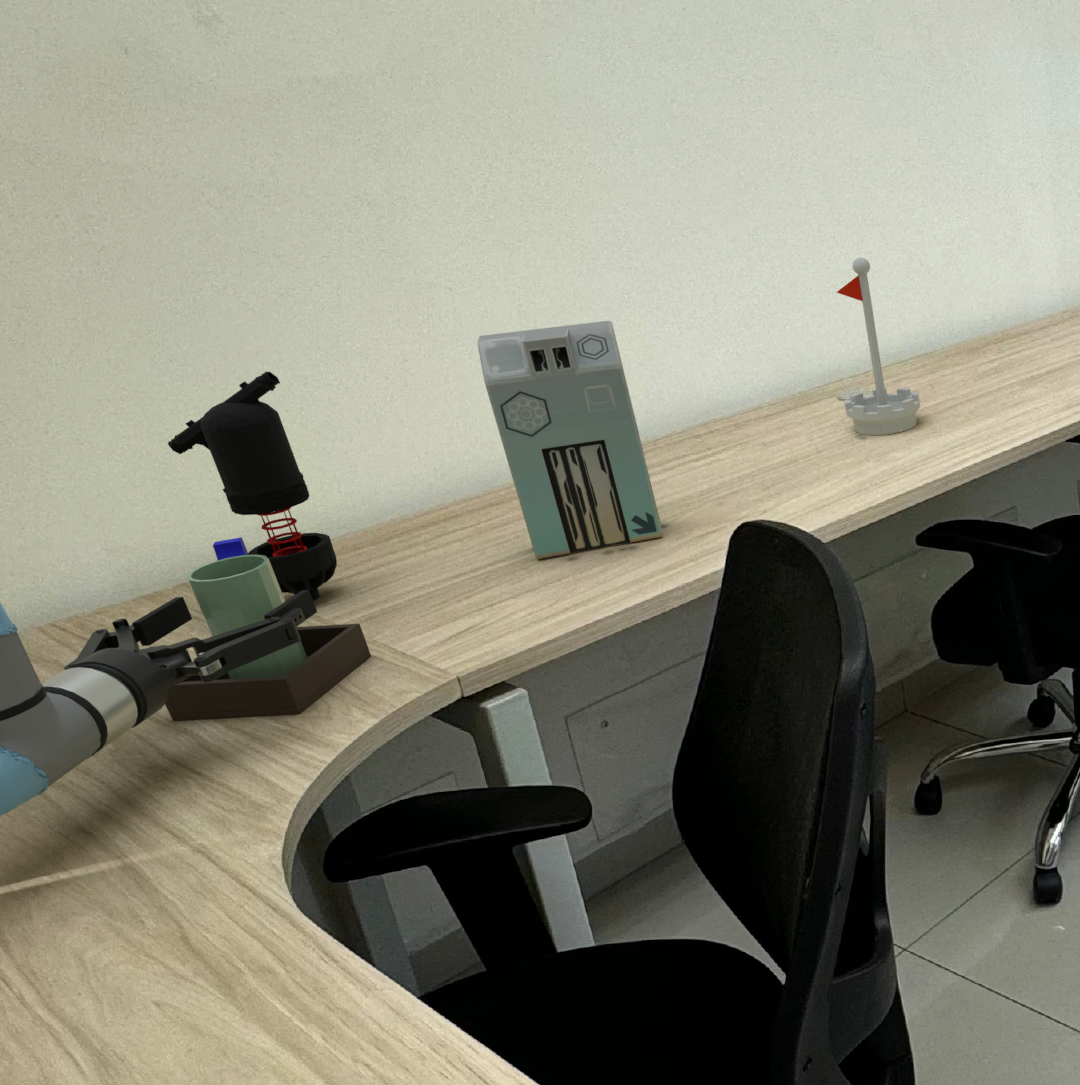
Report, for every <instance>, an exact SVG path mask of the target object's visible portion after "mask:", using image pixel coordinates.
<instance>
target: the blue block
mask: <svg viewBox="0 0 1080 1085" xmlns="http://www.w3.org/2000/svg"><path fill="white" fill-rule="evenodd" d="M212 547H213V550H214V553H215V556H216V559H217V560H216V561H218V560H221V559H225V558H230V557H236V556H242V555H248V553H249V551H248V549H247V546H246V544H245V542H244V539H243V537H242V536H240V537H236V538H235V537H234V538H229V539H223V540H219V541H214V543H213V544H212Z"/></svg>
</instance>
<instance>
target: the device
mask: <svg viewBox="0 0 1080 1085" xmlns="http://www.w3.org/2000/svg"><path fill="white" fill-rule="evenodd" d="M477 350H478V356H479V361H480V366H481V370H482V376H483V382H484V384H485V388H486V392H487V395H488V398H489V402H490V406H491V409H492V412H493V416H494V420H495V423H496V426H497V429H498V433H499V436H500V440H501V444H502V447H503V450H504V453H505V458H506V461H507V464H508V467H509V468H508V469H509V471H510V474H511V478H512V481H513V485H514V488H515V491H516V495H517V499H518V502H519V505H520V509H521V513H522V515H523V516H522V517H523V519H524V522H525V525H526V526H525V527H526V529H527V533H528V536H529V539H530V540H529V541H530V543H531V546H532V550H533V553H534V556H535V559H536V560H542V559H549V558H554V557H559V556H564V555H570V554H576V553H581V552H582V553H583V552H587V551H592V550H593V551H594V550H597V549H603V548H608V547H614V546H620V545H624V544H631V543H636V542H641V541H642V542H643V541H647V540H648V541H649V540H652V539H658V538H662V537H663V535H664V534H663V529H662V524H661V523H662V522H661V518H660V515H659V511H658V506H657V502H656V499H655V494H654V489H653V486H652V482H651V478H650V474H649V470H648V465H647V462H646V461H647V460H646V456H645V453H644V449H643V445H642V444H643V443H642V441H641V436H640V432H639V428H638V424H637V421H636V415H635V412H634V408H633V404H632V399H631V396H630V391H629V387H628V384H627V378H626V375H625V374H626V373H625V370H624V366H623V362H622V358H621V354H620V350H619V345H618V341H617V336H616V333H615V329H614V324H613V322H612V321H611V320H602V321H593V322H586V323H585V322H583V323H577V324H568V325H567V324H566V325H560V326H559V325H558V326H550V327H543V328H542V327H541V328H536V329H525V330H519V331H518V330H517V331H510V332H509V331H508V332H502V333H501V332H500V333H493V334H492V333H491V334H484V335H479V337H478V338H477Z"/></svg>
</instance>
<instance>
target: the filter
mask: <svg viewBox="0 0 1080 1085" xmlns="http://www.w3.org/2000/svg"><path fill="white" fill-rule="evenodd" d="M278 385H281V381H280V380H279V378H278V376H277V375H275V374H274V373H272V372H271V371H265V372H263V373H261V375H258V376H256V377H255V378H254V379H253V380H251V381H250V382H249V383H248V382H247V381H242V382H241V383H240V384H239V385H238V387H239V388H240V389H239V390H238V391H237V392H235V393H234V394H232V395H231V396H229V397H228V398H227V399H225V400H224V401H222V402H219V403H218V404H215V405H214V406H212V407H211V408H210V409H209V410H207V412H205V413H204V414H203V416H202V417H201V418H199V419H197V420H196V421H194V420H193V419H189V421H187V422H186V423H185V425H186V427H187V428H185V429H184V430H182V431H180V432H179V433H178V434H175V436H174V437H173V438H171V440H168V442H167V445H168V446H169V448H170V449H171V450H172V452H175V453H177V454H178V455H182V454H183V453H186V452H188V451H189V450H192V449H194V446H196V445H200V446H203V447H204V448H206V449H207V450H209V452H210V454H211V457H212V460H213V462H214V464H215V467H216V470H217V472H218V475H219V477H220V480H221V482H222V485H223V488H222V491H223V493H224V494H225V497H226V501H227V502H228V504H229V508H230V510H231V512H232V513H234V514H236V515H241V516H252V515H253V516H254V515H257V516H260V518H261V520H262V522H263V524H261V530H264V531H266V533H267V536H268V539H266V541H265V542H263V543H261V544H259V545H257V546H255V547H254V548H252V549H251V550H249V551H248V555H263V556H266V557H267V558H268V559H269V561H270V563H271V566H272V569H273V571H274V574H275V576H276V579H277V581H278V584H279V586H280V589H281V592H282V594H285V593H286V594H293V595H296V594H297V593H299V592H300V591H302V590H309V591H310V594H311V597H312V599H313V601H314V600H317V599H318V598H320V596H321V595H320V592H319V588H320V587H321V586H323V584H326V583H327V582H328V581H330V580H331V579H332V577H333V576H334V575H335V571H336V568H337V566H338V562H337V556H336V555H337V554H336V553H335V549H334V547H333V544H332V540H331V537H330V535H328V534H326V533H319V532H305V533H303V532H301V531H298V529H297V526H296V524H297V522H298V520H297V518H295V517H292V513H291V511H290V510H291V509H292V508H293V507H295V506H298V505H300V504H303V503H305V502H306V501H308V500H309V497H310V491H309V489H308V485H307V484H306V481H305V479H304V474H303V473H302V472H301V471H300V468H299V466H298V462H297V461H296V458H295V455H294V452H293V449H292V446H291V443H290V440H289V438H288V436H287V433H286V430H285V426H284V425H283V421H282V419H281V416H280V414H279V412H278V410H276V409H274V408H273V407H272V406H271V405H269V404H268V403H266V402H263V401H260V400H259V399H260V398H262V397H263V396H265V395H266V394H267V393H269V392H270V391H271V392H273V391H274V390H275V389H276V388H277V387H276V386H278ZM287 511H288V514H289V517H287V514H286V512H287ZM277 514H284V517H283V518H277V519H274V520H271V521H270V519H269V518H268V516H273V515H277ZM264 516H265V517H266V519H267V522H266V521H265V519H264ZM280 522H287V523H286V524H282V525H278V526H277V525H276V526H272V524H276V523H280ZM291 526H293V529H294V531H293V530H292V527H291ZM285 528H288V529H289V530H290V532H283V533H280V534H276V535H275V532H274V530H280V529H285ZM270 531H271V533H272V535H273V536H271V534H270Z"/></svg>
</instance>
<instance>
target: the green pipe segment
mask: <svg viewBox="0 0 1080 1085" xmlns="http://www.w3.org/2000/svg"><path fill="white" fill-rule="evenodd" d="M188 572H189V573H187V575H186V576H185V578H186V580H187V583H188V585H189V587H190V590H191V592H192V595H193V597H194V599H195V601H196V604H197V606H198V609H199V611H200V613H201V616H202V618H203V621H204V623H205V625H206V628H207V629H208V632H209V635H210V637H213V636H216V635H219V634H222V633H225V632H228V631H231V630H234V629H238V628H241V627H244V626H247V625H250V624H253V623H256V622H259V621H262V620H265V618H264V615H266V614H267V613H269V612H270V611H272V610H273V609H275V608H276V607H278V606H279V605H281V604H282V603H284V602H285V601H286V599H285V597H284V593H282V592H281V589H280V586H279V584H278V581H277V579H276V576H275V574H274V571H273V569H272V566H271V563H270V561H269V559H268V558H267V557H266V556H263V555H242V556H236V557H230V558H225V559H221V560H214V561H211V562H208V563H206V564H203V565H199V567H196V568H194V569H192V570H191V571H188ZM305 659H307V656H306V653H305V651H304V648H303V645H302V643H301V641H299V642H297V643H295V644H292V645H290V646H288V647H285V648H283V649H281V650H278V651H276V652H274V653H271V654H269V655H266V656H264V657H262V658H259V659H257V660H255V661H252V662H250V663H248V664H245V665H243V666H241V667H238V668H236V669H234V670H231V671H229V672H227V675H228V677H229V679H243V678H261V677H280V676H284V675H285V674H287V673H288V672H289V671H291V670H292V669H293V668H295V667H296V666H297V665H299V664H300V663H301V662H303V661H304V660H305Z"/></svg>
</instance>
